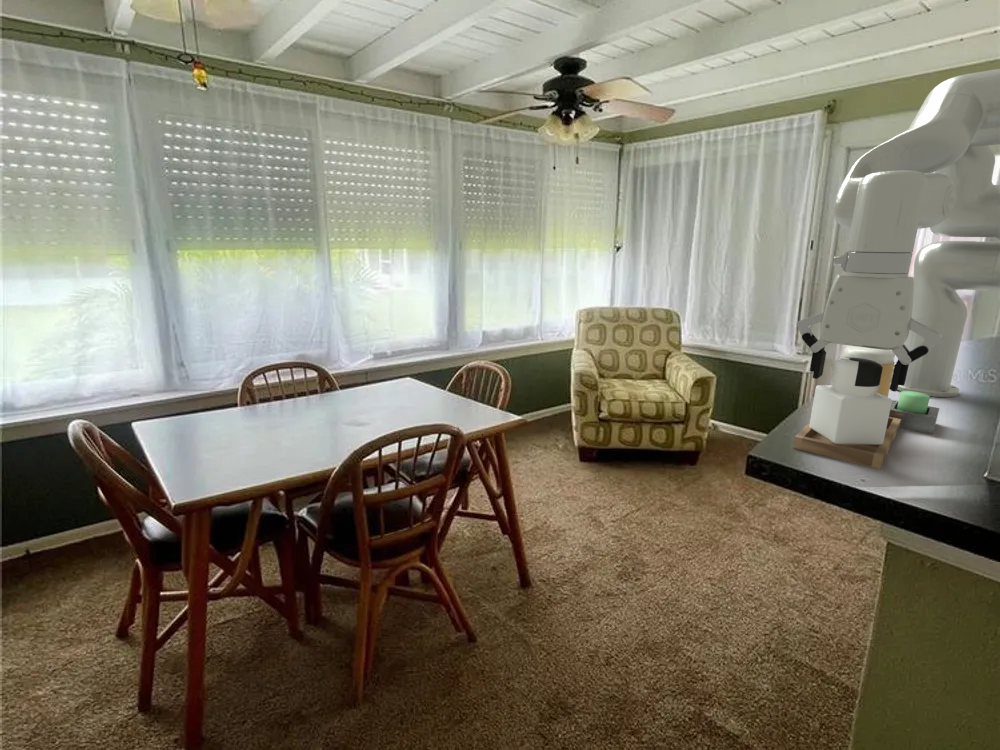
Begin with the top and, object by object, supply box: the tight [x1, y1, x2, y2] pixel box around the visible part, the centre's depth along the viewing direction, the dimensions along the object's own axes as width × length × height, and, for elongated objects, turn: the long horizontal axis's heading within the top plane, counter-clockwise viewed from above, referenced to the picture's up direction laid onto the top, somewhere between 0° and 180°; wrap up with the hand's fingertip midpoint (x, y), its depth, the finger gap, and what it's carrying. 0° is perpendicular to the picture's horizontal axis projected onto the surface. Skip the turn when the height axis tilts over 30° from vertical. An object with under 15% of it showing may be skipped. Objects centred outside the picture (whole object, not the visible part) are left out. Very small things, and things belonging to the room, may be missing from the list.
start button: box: [897, 391, 931, 414], centre depth 90 cm, size 4×4×4 cm
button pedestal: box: [889, 399, 940, 435], centre depth 90 cm, size 7×7×4 cm
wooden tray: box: [792, 417, 901, 470], centre depth 84 cm, size 21×11×3 cm, turn 138°
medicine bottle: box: [809, 357, 893, 445], centre depth 78 cm, size 7×7×12 cm
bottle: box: [842, 345, 896, 398], centre depth 86 cm, size 7×7×14 cm
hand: (854, 382), depth 78 cm, fingers open, 9 cm apart
